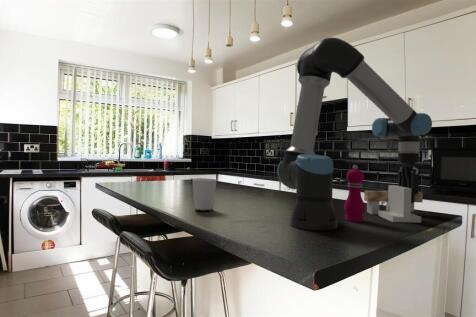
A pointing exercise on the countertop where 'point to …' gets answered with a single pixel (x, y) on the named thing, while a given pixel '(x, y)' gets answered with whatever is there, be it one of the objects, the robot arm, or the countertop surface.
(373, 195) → the oak batten
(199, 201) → the cup
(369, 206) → the rest blocks
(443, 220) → the countertop surface
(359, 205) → the pepper mill
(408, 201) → the ridge stand
